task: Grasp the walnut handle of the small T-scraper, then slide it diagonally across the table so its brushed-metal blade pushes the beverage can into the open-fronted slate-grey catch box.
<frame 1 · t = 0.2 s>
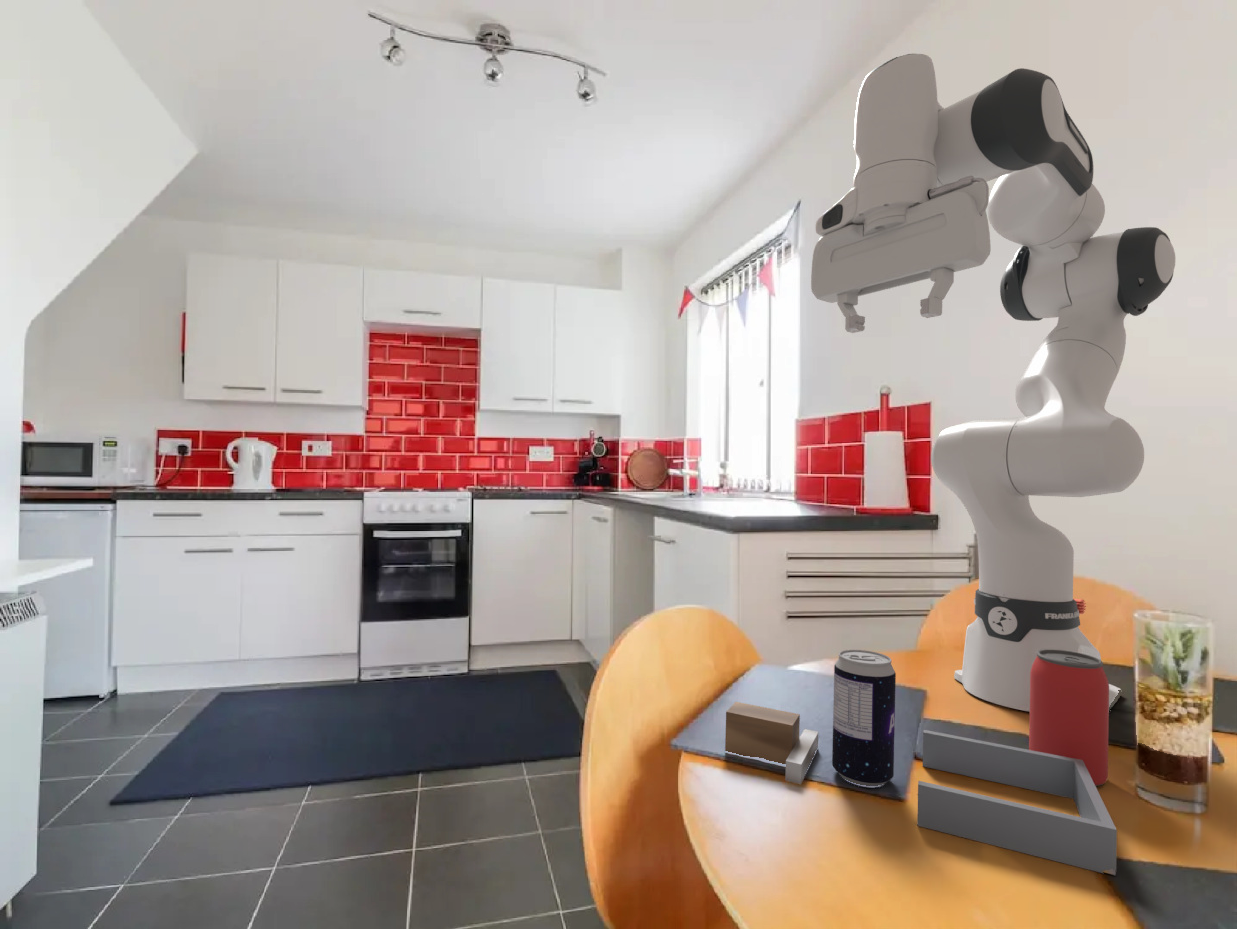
hand: (890, 324, 72), 47 cm above the table, fingers open, 8 cm apart
beer can: (1066, 776, 64), on the table
beverage can: (862, 779, 62), on the table
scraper: (761, 755, 67), on the table
catch box: (1003, 810, 57), on the table
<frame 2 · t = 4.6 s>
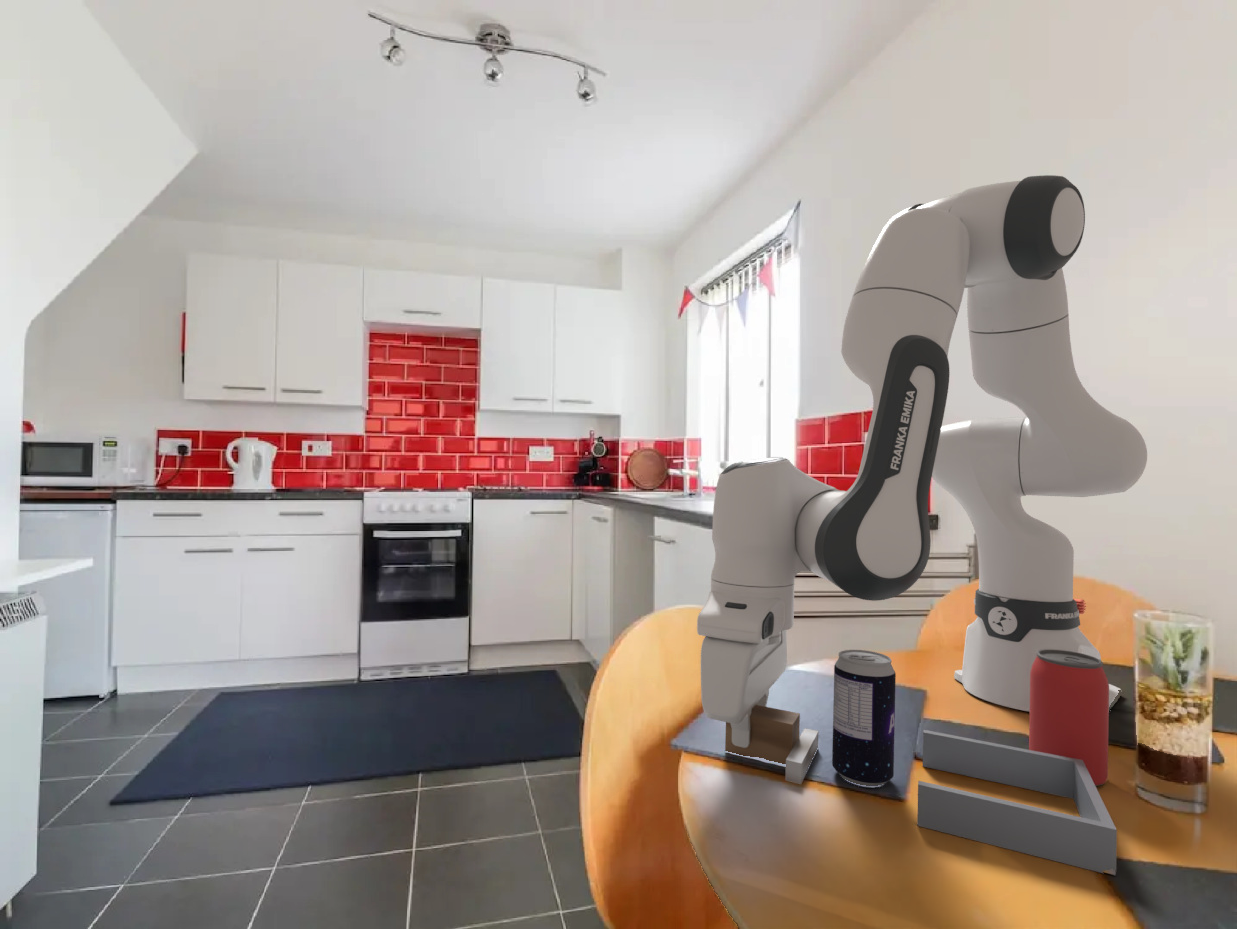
hand: (748, 735, 68), 2 cm above the table, fingers closed on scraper, 3 cm apart
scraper: (761, 754, 67), on the table, touching gripper
everything else where it was.
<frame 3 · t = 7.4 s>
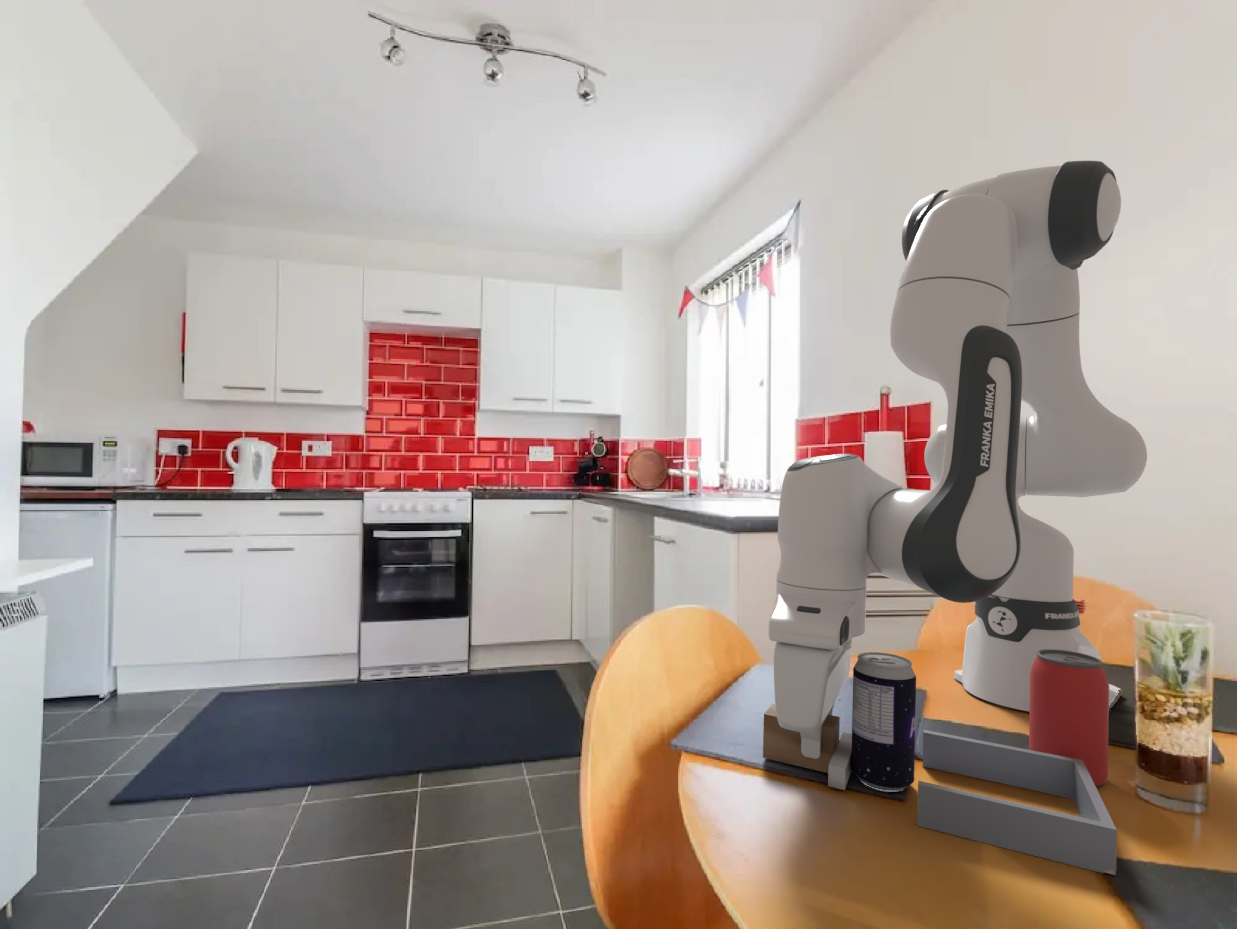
hand: (816, 746, 65), 2 cm above the table, fingers closed on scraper, 3 cm apart
beverage can: (881, 784, 61), on the table, touching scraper
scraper: (800, 759, 65), on the table, touching beverage can, gripper
everything else where it was.
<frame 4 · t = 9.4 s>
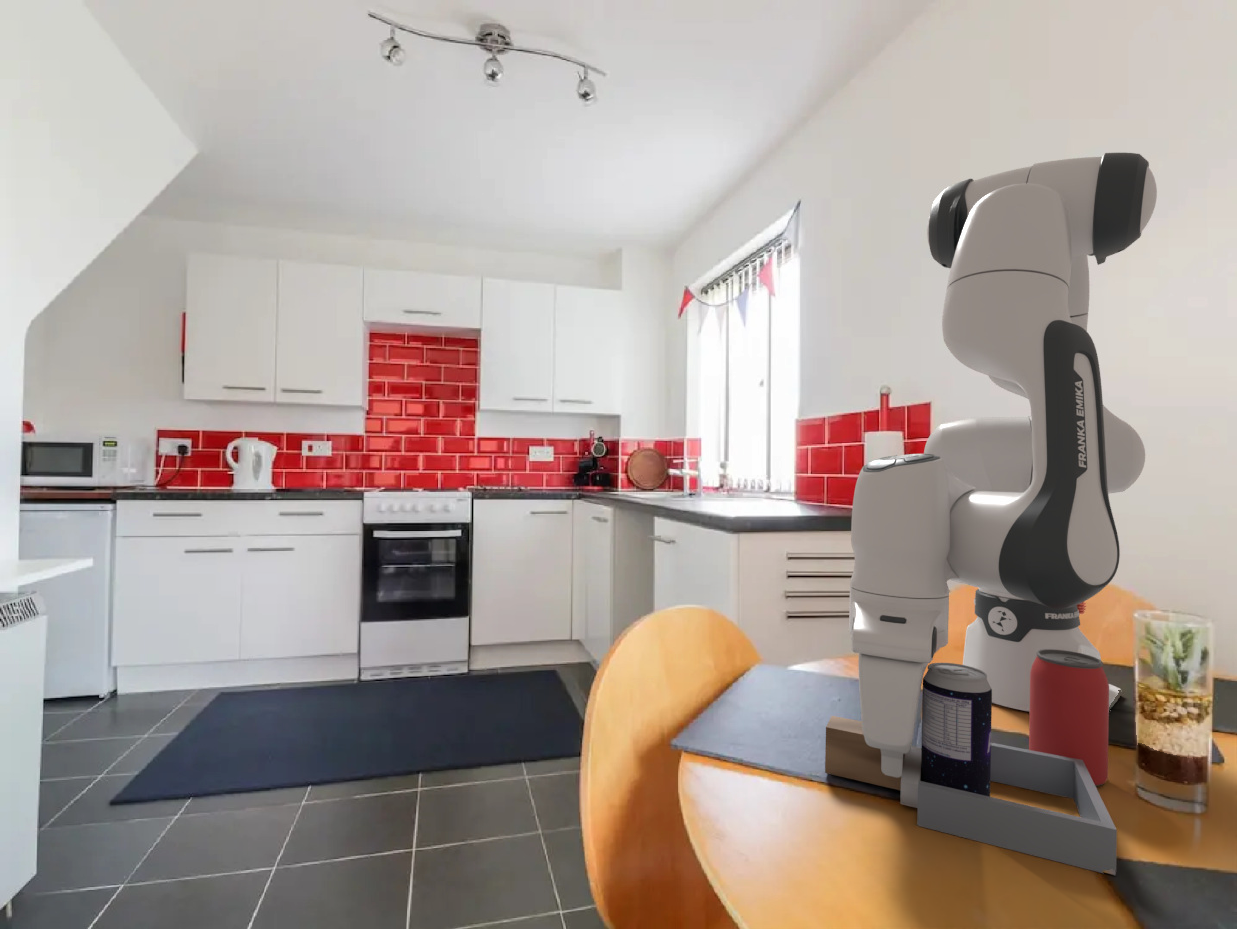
hand: (894, 763, 61), 2 cm above the table, fingers closed on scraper, 3 cm apart
beverage can: (954, 802, 58), on the table, touching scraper
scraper: (864, 774, 62), on the table, touching beverage can, gripper
everything else where it was.
when the fingers open (2 cm above the table, at t = 10.4 s): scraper stays where it is, on the table.
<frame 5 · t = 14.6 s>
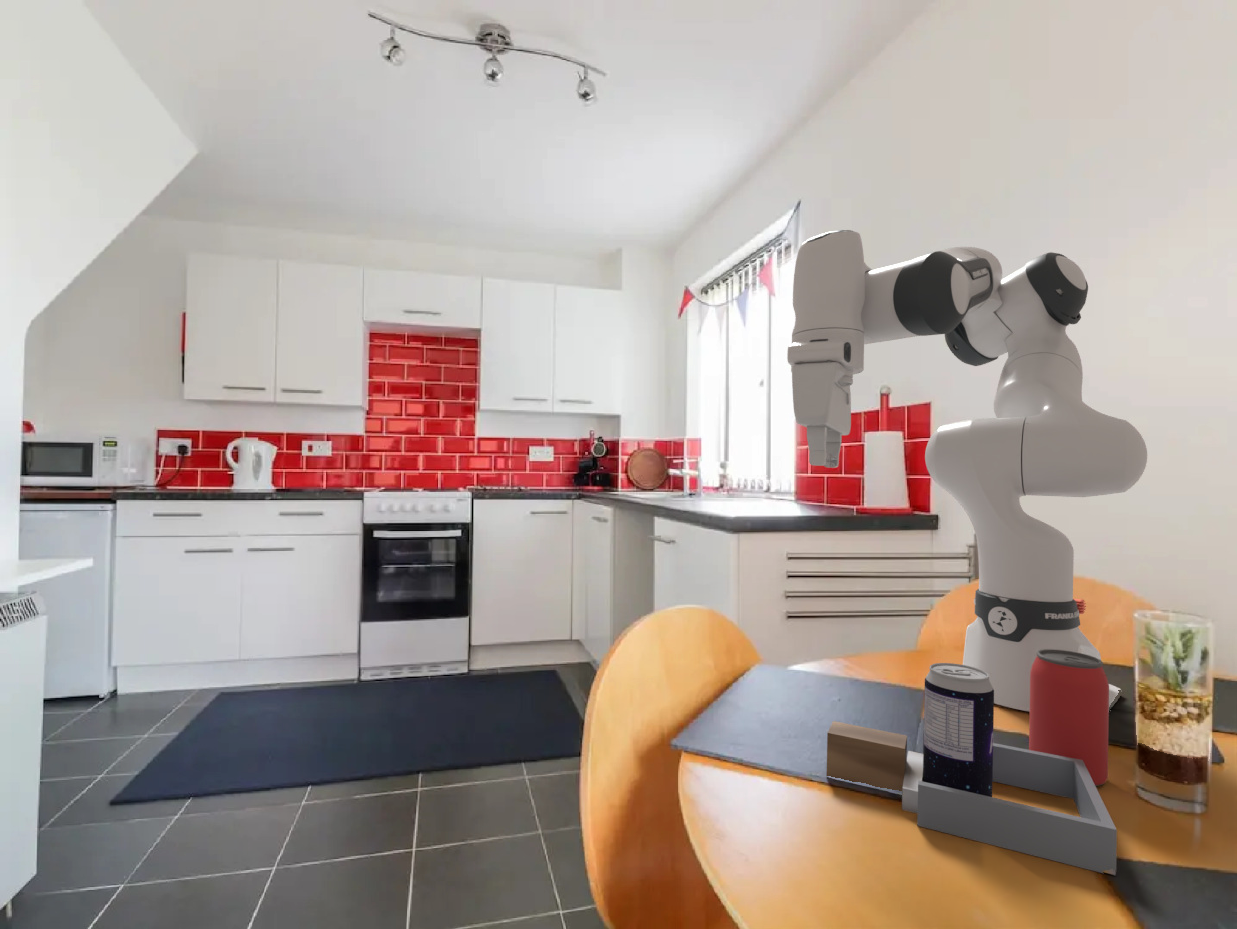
hand: (824, 466, 80), 31 cm above the table, fingers open, 8 cm apart
beverage can: (956, 802, 58), on the table
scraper: (866, 780, 62), on the table
everything else where it was.
at the end: beverage can 3.8 cm from the catch box (horizontally); beverage can moved 8.2 cm from its start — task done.
